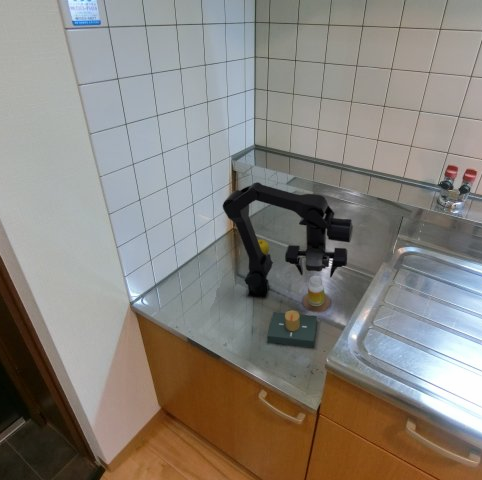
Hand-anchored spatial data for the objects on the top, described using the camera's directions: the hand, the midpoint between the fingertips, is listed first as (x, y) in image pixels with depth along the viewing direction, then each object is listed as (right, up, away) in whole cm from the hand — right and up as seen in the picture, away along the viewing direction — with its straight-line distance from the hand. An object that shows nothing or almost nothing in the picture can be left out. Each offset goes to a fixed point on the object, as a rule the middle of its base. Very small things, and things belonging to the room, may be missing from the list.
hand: (316, 275), depth 120 cm
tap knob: (-8, -15, -4) cm, 18 cm away
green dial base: (-8, -18, -3) cm, 19 cm away
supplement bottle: (+1, -9, +7) cm, 12 cm away
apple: (-17, +5, +31) cm, 35 cm away
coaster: (+1, -10, +7) cm, 12 cm away
